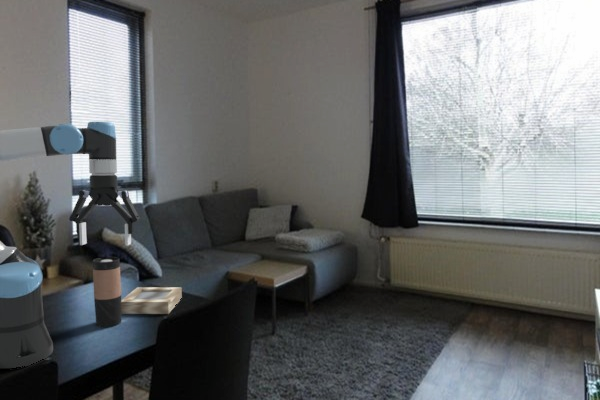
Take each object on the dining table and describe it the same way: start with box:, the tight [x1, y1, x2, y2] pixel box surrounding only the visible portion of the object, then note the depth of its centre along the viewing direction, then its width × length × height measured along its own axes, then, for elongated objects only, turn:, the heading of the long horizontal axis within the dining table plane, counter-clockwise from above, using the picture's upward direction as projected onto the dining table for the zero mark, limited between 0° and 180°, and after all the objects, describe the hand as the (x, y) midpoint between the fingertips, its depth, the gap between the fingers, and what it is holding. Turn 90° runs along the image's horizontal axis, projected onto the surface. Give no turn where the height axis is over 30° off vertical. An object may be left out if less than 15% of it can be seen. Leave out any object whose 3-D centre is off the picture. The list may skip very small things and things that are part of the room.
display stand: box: [121, 286, 183, 315], centre depth 152 cm, size 16×16×4 cm
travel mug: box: [92, 256, 122, 328], centre depth 135 cm, size 8×8×20 cm
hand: (105, 244), depth 134 cm, fingers open, 13 cm apart
